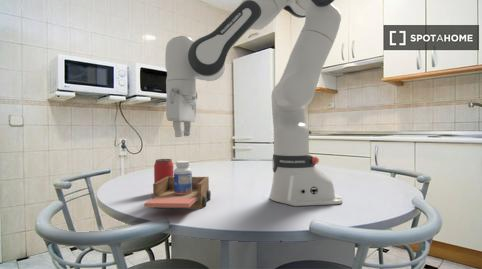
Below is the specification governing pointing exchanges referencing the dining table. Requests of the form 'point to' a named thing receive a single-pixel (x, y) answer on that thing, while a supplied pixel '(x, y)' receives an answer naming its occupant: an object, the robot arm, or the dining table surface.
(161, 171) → the beer can
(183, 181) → the pill bottle
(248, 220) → the dining table surface
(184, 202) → the tailgate
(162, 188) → the truck bed
